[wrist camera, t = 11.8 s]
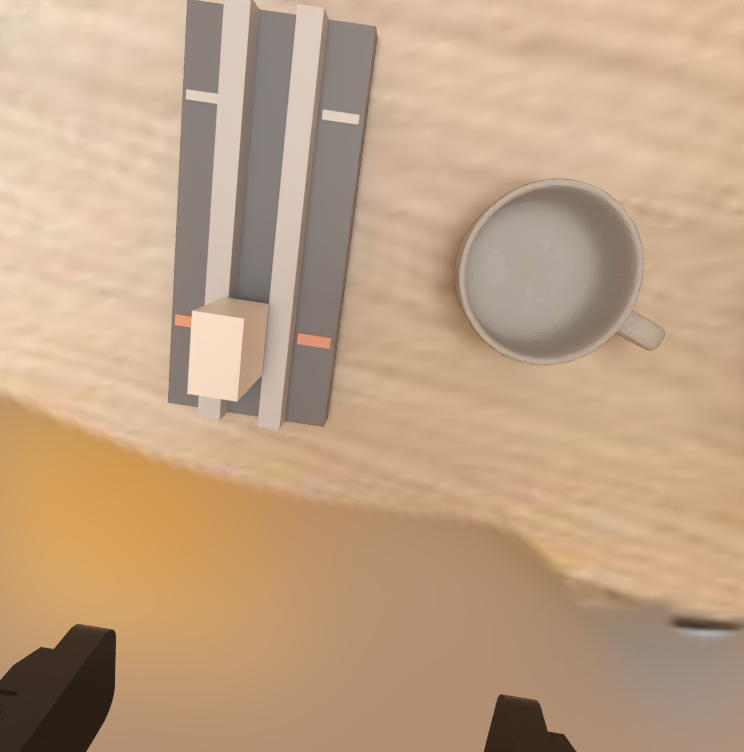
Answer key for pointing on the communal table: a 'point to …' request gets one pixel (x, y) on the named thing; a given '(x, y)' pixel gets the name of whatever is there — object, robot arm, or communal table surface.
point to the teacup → (553, 274)
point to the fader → (226, 348)
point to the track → (269, 192)
